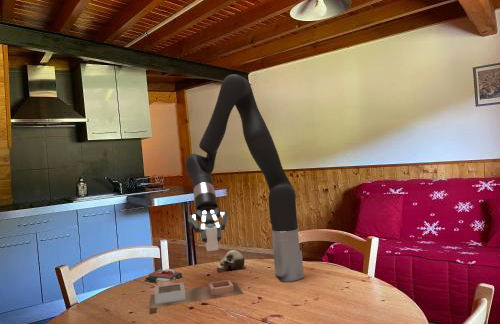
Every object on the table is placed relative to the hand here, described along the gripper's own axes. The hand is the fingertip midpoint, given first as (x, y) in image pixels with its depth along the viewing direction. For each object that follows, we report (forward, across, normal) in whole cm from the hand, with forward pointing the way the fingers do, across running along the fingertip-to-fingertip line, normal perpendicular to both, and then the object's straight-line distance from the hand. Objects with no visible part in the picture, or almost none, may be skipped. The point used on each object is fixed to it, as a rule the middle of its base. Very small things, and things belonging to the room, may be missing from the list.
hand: (212, 240), depth 119 cm
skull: (-7, +10, +34) cm, 36 cm away
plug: (+1, 0, +4) cm, 4 cm away
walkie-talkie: (-4, -14, +30) cm, 34 cm away
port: (+11, -14, +13) cm, 22 cm away
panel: (+12, -6, +14) cm, 19 cm away
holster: (+10, +2, +13) cm, 17 cm away
